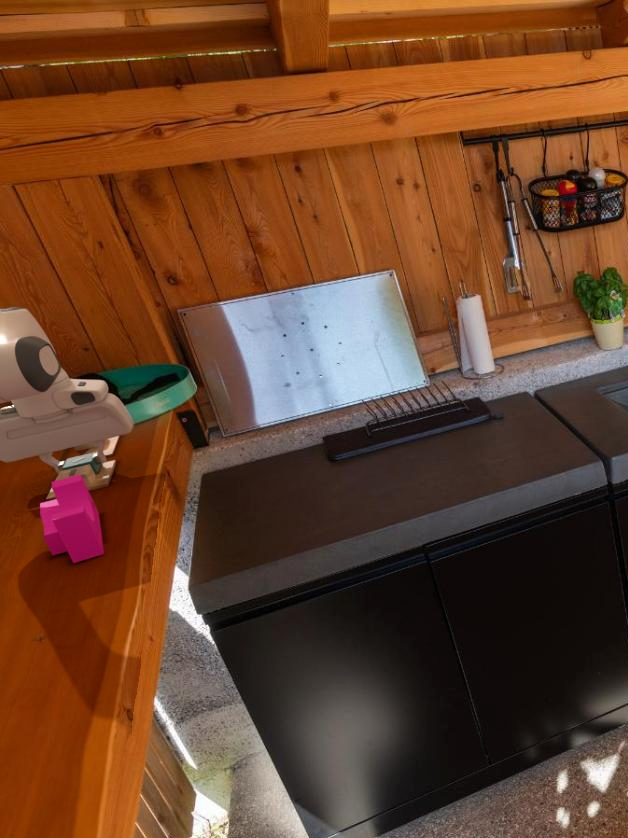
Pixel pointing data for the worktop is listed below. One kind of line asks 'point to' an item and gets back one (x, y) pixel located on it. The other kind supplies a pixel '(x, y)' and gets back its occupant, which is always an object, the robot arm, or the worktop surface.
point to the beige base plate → (89, 476)
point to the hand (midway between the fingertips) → (83, 467)
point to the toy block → (72, 521)
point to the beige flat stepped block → (108, 448)
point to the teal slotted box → (81, 462)
